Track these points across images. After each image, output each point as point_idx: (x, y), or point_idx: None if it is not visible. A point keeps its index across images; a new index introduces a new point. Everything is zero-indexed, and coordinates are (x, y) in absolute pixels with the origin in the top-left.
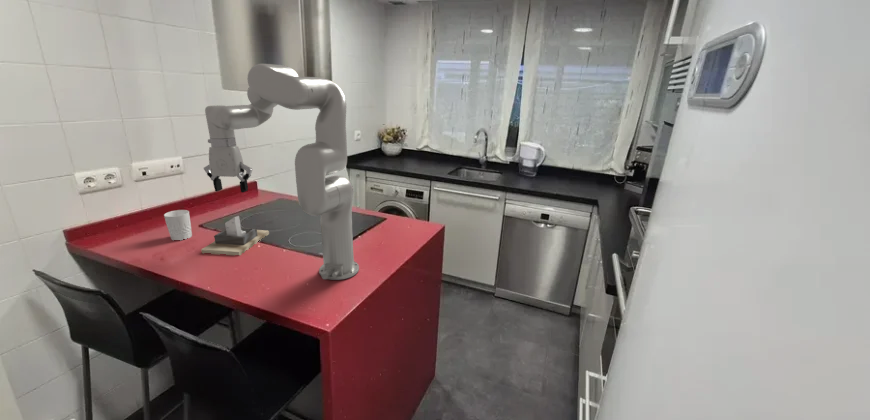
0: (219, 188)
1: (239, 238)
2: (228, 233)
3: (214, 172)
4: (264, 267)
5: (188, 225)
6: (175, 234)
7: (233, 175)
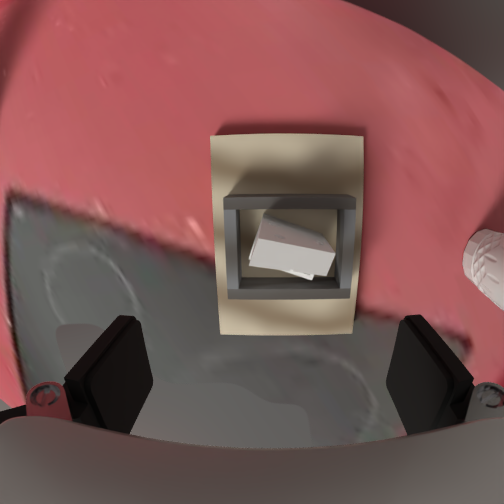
0: (399, 362)
1: (239, 196)
2: (316, 236)
3: (499, 465)
4: (99, 91)
5: (484, 273)
6: (494, 233)
7: (41, 421)
